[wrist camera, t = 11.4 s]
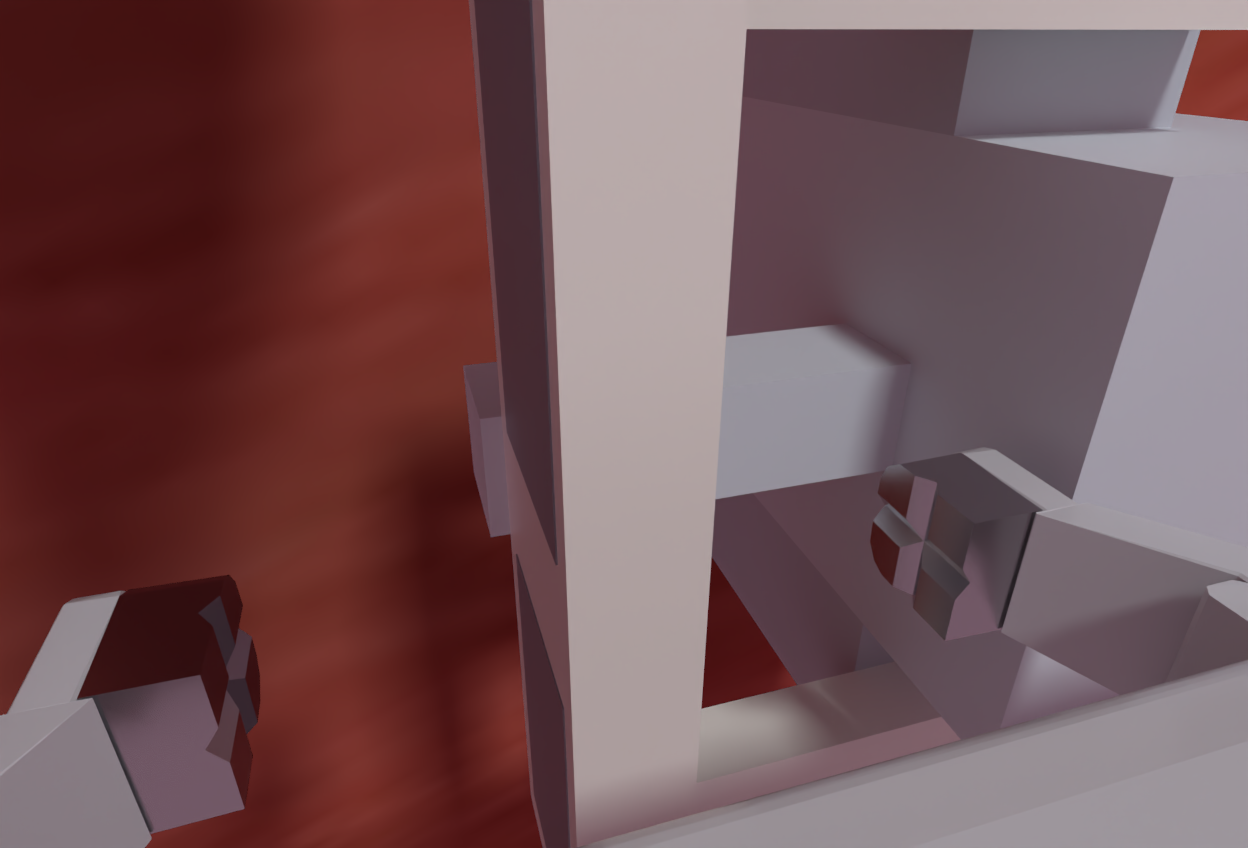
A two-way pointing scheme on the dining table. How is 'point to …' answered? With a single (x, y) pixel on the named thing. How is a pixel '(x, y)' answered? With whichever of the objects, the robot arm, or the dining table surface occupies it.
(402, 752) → the dining table surface
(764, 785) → the white u-shaped bracket
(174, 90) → the dining table surface
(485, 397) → the white block with peg
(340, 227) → the dining table surface
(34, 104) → the dining table surface
